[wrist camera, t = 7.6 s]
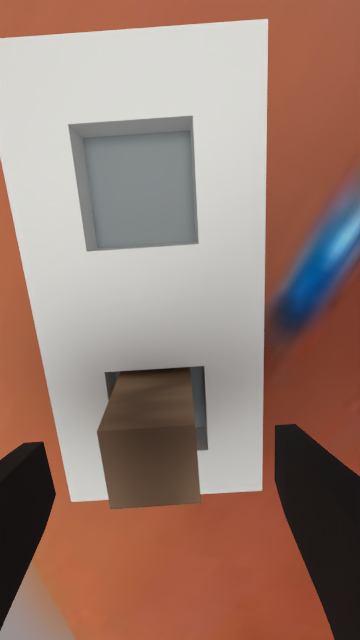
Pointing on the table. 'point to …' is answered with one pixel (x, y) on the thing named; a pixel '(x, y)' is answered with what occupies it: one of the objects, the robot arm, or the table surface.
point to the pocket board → (144, 227)
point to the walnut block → (150, 440)
